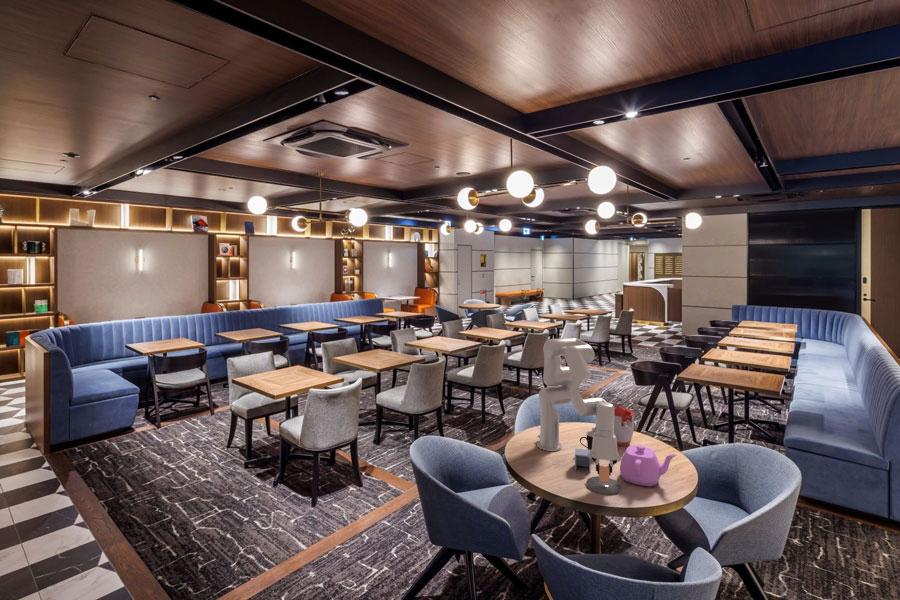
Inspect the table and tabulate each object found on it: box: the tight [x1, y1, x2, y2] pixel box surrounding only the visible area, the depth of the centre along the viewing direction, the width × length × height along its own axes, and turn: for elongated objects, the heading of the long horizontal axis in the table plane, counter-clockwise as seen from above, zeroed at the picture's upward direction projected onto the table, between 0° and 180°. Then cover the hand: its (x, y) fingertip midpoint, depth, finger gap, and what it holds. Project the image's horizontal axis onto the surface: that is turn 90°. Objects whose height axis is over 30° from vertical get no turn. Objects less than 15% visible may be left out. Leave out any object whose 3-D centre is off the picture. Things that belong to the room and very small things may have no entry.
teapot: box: [619, 444, 678, 487], centre depth 196 cm, size 23×21×15 cm
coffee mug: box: [579, 430, 595, 450], centre depth 227 cm, size 12×9×10 cm
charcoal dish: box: [585, 475, 622, 496], centre depth 193 cm, size 14×14×1 cm
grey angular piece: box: [574, 447, 592, 473], centre depth 210 cm, size 7×7×8 cm
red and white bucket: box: [614, 405, 635, 447], centre depth 239 cm, size 16×17×20 cm
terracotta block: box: [598, 463, 610, 482], centre depth 191 cm, size 4×4×6 cm
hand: (603, 473), depth 192 cm, fingers closed on terracotta block, 3 cm apart
